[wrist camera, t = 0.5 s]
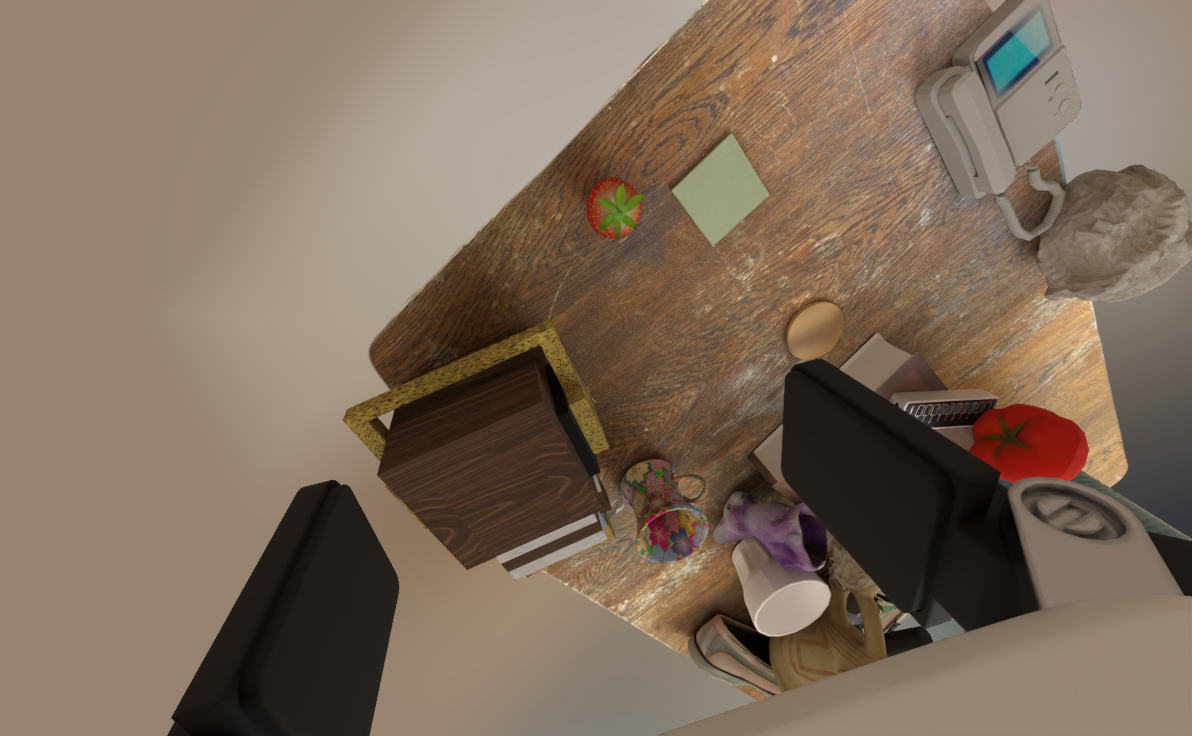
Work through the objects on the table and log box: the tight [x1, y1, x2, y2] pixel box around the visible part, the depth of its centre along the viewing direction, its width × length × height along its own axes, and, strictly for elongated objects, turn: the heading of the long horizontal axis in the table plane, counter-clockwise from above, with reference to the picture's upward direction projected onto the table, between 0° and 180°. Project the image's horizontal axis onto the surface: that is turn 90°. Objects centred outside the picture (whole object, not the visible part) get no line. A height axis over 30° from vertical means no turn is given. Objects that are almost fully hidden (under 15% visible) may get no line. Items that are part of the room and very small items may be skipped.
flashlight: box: [884, 626, 933, 657], centre depth 85 cm, size 5×24×5 cm
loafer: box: [688, 614, 782, 697], centre depth 84 cm, size 11×30×9 cm
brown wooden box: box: [343, 319, 615, 580], centre depth 50 cm, size 21×15×30 cm
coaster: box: [785, 301, 844, 360], centre depth 59 cm, size 8×8×1 cm
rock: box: [826, 537, 875, 592], centre depth 66 cm, size 16×10×20 cm
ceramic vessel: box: [769, 584, 888, 693], centre depth 72 cm, size 17×20×25 cm
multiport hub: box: [890, 389, 998, 429], centre depth 59 cm, size 4×14×2 cm, turn 86°
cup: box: [732, 536, 831, 636], centre depth 72 cm, size 12×12×11 cm
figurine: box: [713, 491, 827, 572], centre depth 67 cm, size 9×10×15 cm
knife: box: [886, 613, 908, 633], centre depth 96 cm, size 19×2×1 cm, turn 147°
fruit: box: [587, 177, 644, 240], centre depth 43 cm, size 5×5×8 cm
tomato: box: [968, 404, 1089, 483], centre depth 55 cm, size 10×11×6 cm
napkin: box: [671, 133, 769, 246], centre depth 48 cm, size 8×8×1 cm
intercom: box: [915, 0, 1081, 241], centre depth 50 cm, size 13×4×25 cm
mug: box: [620, 459, 709, 563], centre depth 60 cm, size 12×9×11 cm
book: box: [748, 332, 975, 504], centre depth 67 cm, size 24×28×6 cm
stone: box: [1035, 165, 1192, 303], centre depth 56 cm, size 17×17×15 cm
